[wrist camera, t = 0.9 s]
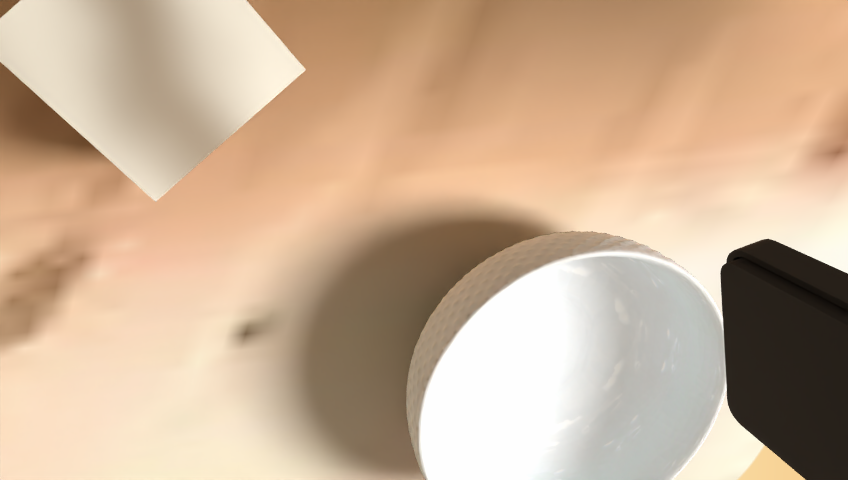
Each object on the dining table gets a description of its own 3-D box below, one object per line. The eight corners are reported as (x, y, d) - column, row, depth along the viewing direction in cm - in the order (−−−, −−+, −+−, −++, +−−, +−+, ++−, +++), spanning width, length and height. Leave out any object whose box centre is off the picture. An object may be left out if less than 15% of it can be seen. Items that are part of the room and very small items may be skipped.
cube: (168, -87, 26) (148, -114, 19) (289, 53, 29) (306, 69, 22) (38, 29, 26) (-25, 40, 20) (171, 156, 29) (155, 201, 23)
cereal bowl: (321, 382, 35) (341, 469, 29) (520, 140, 33) (588, 174, 27) (529, 499, 42) (582, 589, 36) (701, 304, 40) (789, 362, 34)
